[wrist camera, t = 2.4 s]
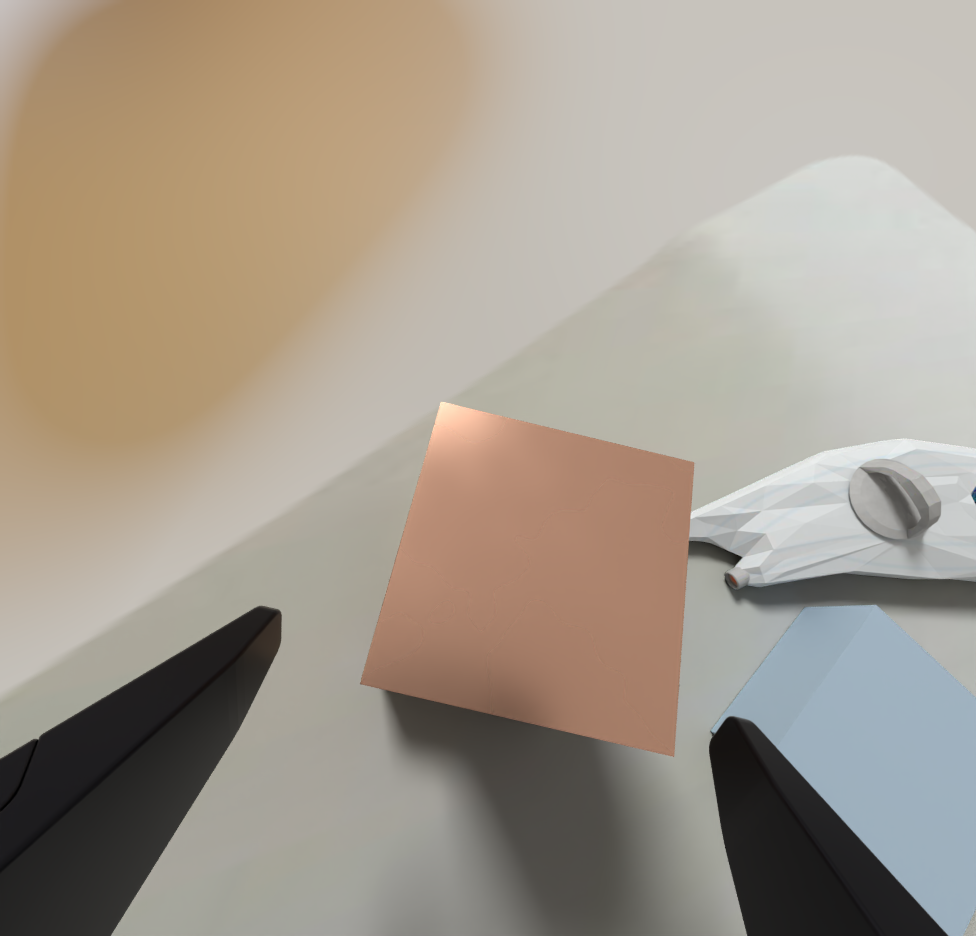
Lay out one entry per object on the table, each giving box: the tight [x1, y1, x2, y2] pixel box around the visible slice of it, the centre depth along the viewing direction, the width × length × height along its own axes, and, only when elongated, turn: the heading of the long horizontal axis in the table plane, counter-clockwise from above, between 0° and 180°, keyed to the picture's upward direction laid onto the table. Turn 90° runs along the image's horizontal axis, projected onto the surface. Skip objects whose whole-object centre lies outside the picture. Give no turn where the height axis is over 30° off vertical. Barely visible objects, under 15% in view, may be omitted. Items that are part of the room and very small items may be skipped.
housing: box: [360, 402, 694, 757], centre depth 11 cm, size 4×4×9 cm
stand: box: [711, 605, 976, 936], centre depth 17 cm, size 7×7×4 cm
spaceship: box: [689, 438, 976, 590], centre depth 20 cm, size 23×7×4 cm, turn 91°
